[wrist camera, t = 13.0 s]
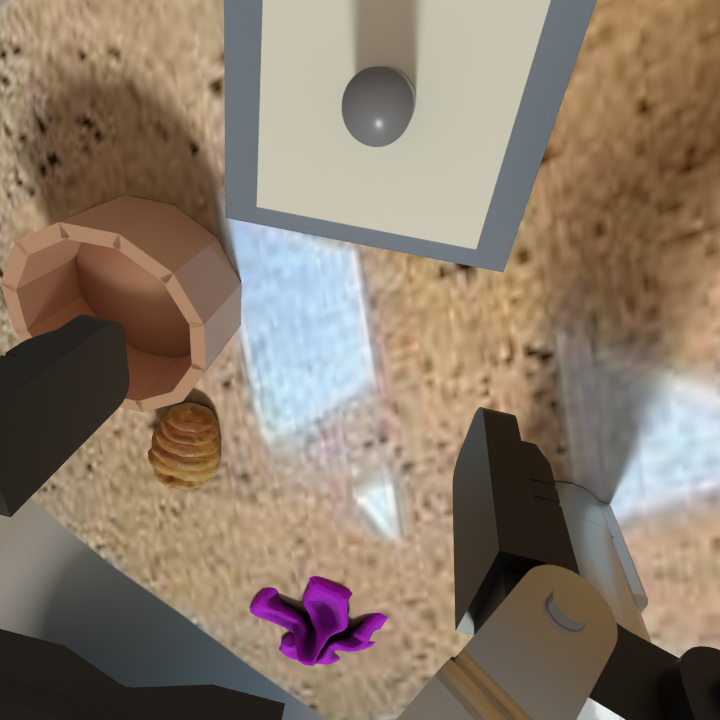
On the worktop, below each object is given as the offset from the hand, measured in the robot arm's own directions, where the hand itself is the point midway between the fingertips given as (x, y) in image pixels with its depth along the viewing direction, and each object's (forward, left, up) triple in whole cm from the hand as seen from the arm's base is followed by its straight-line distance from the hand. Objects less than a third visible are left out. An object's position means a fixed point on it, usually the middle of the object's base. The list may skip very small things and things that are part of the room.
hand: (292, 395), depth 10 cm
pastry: (+15, +28, -25) cm, 40 cm away
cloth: (-2, +56, -25) cm, 61 cm away
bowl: (+17, +12, -24) cm, 32 cm away
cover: (+1, -4, -24) cm, 24 cm away
